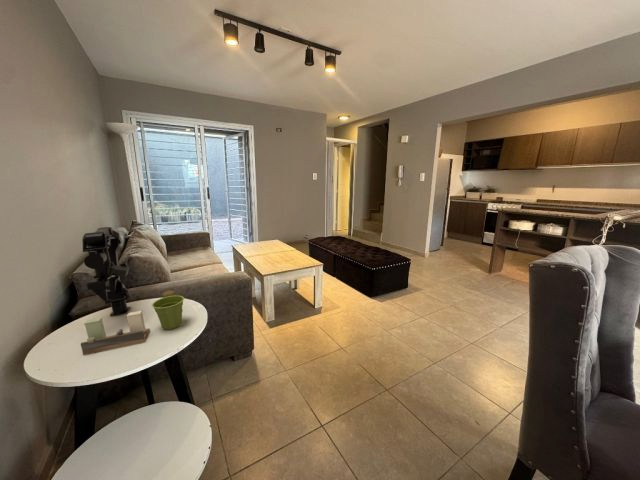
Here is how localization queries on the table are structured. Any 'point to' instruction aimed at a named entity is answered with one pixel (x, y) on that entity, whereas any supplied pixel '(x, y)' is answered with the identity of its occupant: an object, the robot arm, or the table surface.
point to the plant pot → (169, 311)
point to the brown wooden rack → (114, 341)
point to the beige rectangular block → (136, 321)
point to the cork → (169, 293)
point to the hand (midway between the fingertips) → (109, 296)
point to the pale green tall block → (95, 328)
